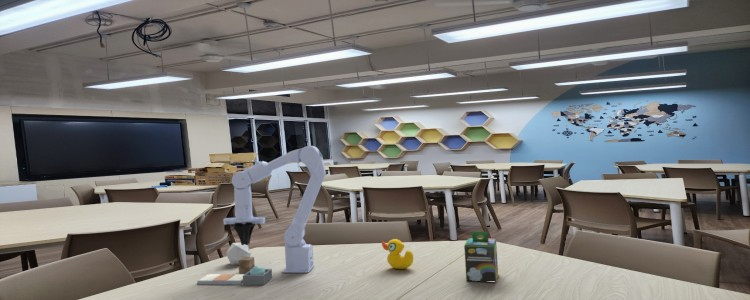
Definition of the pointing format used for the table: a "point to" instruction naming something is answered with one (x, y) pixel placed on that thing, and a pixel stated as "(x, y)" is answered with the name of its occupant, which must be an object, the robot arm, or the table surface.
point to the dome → (257, 270)
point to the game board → (221, 279)
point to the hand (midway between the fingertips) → (245, 244)
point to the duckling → (394, 256)
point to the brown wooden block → (246, 264)
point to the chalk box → (481, 258)
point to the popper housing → (257, 278)
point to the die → (237, 253)
